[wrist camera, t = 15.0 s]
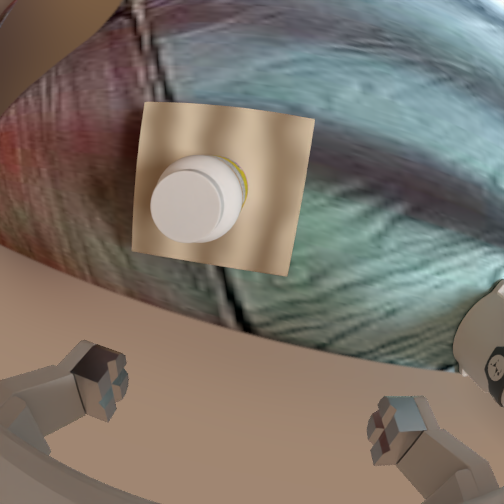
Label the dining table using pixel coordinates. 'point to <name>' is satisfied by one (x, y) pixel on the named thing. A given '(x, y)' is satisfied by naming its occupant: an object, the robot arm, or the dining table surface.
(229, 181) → the supplement bottle
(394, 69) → the dining table surface
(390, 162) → the dining table surface
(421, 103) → the dining table surface
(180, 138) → the birch plinth
